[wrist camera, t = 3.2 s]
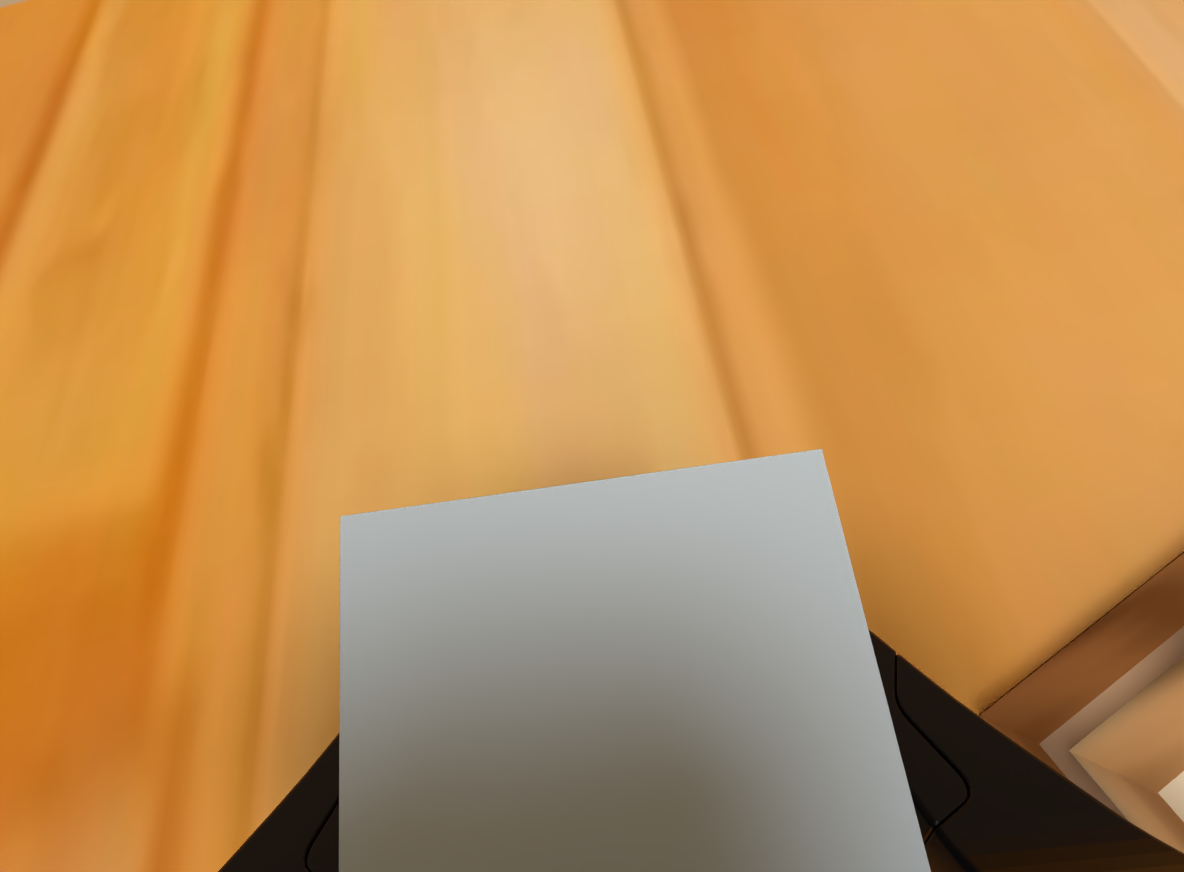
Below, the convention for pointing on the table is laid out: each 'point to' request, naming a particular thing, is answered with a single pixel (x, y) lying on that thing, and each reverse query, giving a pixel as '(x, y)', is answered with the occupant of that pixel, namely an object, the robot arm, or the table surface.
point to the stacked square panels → (1115, 708)
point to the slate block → (617, 682)
